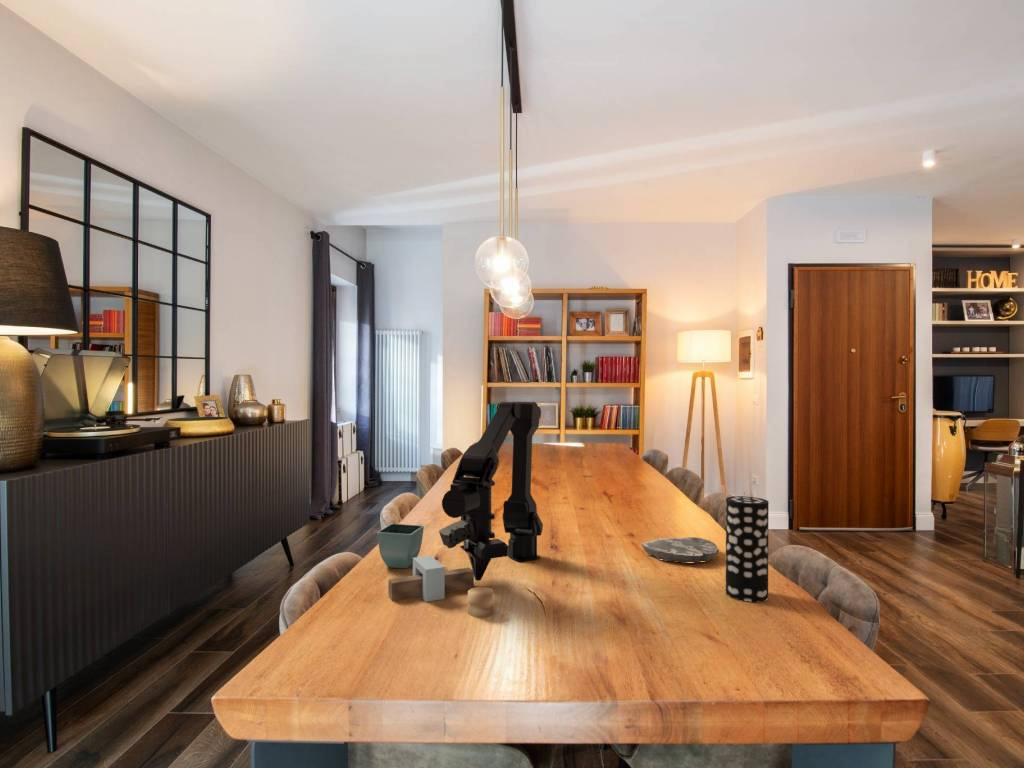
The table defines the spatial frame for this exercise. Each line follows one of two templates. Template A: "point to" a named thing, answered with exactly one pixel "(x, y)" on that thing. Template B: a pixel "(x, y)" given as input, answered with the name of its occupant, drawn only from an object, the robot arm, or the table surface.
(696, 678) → the table surface
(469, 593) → the bead
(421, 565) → the grey arch block
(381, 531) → the flower pot
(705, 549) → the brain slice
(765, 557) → the white-spotted black cylinder
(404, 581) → the brown wooden bar
